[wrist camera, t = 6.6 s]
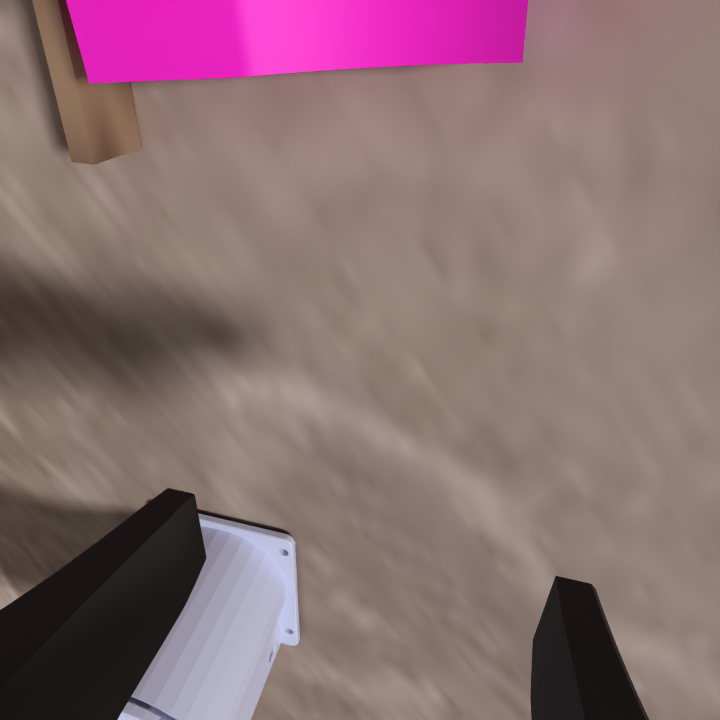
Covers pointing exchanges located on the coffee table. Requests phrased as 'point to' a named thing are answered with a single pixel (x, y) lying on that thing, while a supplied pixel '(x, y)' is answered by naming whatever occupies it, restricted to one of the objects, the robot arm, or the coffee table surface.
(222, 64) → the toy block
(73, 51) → the tray
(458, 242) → the coffee table surface
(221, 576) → the robot arm
